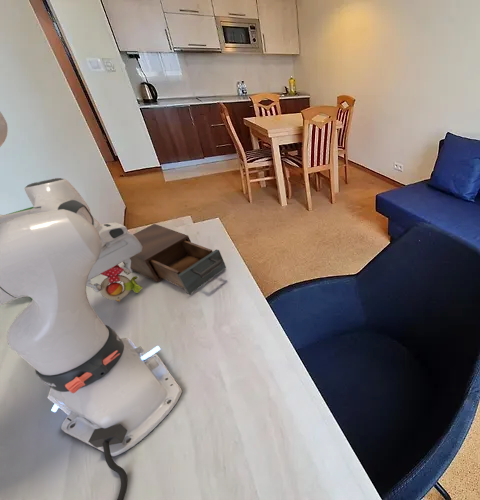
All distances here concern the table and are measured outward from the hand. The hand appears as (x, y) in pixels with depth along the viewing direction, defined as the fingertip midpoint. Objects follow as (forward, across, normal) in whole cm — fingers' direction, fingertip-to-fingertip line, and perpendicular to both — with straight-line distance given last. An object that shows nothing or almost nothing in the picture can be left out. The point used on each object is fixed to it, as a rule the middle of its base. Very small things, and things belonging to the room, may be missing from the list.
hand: (114, 281), depth 85 cm
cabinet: (+6, +16, +8) cm, 18 cm away
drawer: (+5, +16, -11) cm, 20 cm away
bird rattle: (+6, +1, 0) cm, 6 cm away
